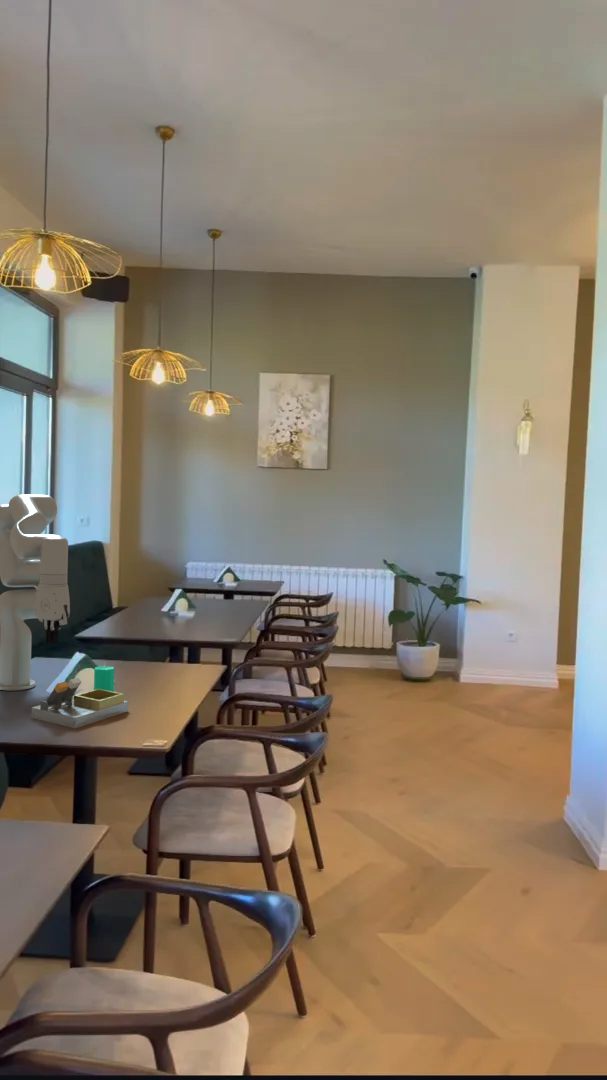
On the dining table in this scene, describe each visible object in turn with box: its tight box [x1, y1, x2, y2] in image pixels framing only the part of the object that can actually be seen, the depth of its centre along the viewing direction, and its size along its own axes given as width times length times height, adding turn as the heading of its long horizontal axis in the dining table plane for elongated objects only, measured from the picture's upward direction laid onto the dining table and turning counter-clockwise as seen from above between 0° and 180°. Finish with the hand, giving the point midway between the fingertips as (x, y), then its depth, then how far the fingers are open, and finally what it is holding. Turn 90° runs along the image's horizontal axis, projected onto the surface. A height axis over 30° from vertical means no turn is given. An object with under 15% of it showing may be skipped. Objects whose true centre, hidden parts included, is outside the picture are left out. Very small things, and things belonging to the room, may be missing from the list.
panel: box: [31, 689, 129, 730], centre depth 221 cm, size 17×21×6 cm
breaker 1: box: [46, 681, 69, 708], centre depth 214 cm, size 2×3×9 cm
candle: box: [93, 662, 115, 692], centre depth 236 cm, size 6×6×12 cm
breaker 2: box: [61, 677, 82, 704], centre depth 219 cm, size 2×3×9 cm
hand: (52, 643), depth 220 cm, fingers closed
